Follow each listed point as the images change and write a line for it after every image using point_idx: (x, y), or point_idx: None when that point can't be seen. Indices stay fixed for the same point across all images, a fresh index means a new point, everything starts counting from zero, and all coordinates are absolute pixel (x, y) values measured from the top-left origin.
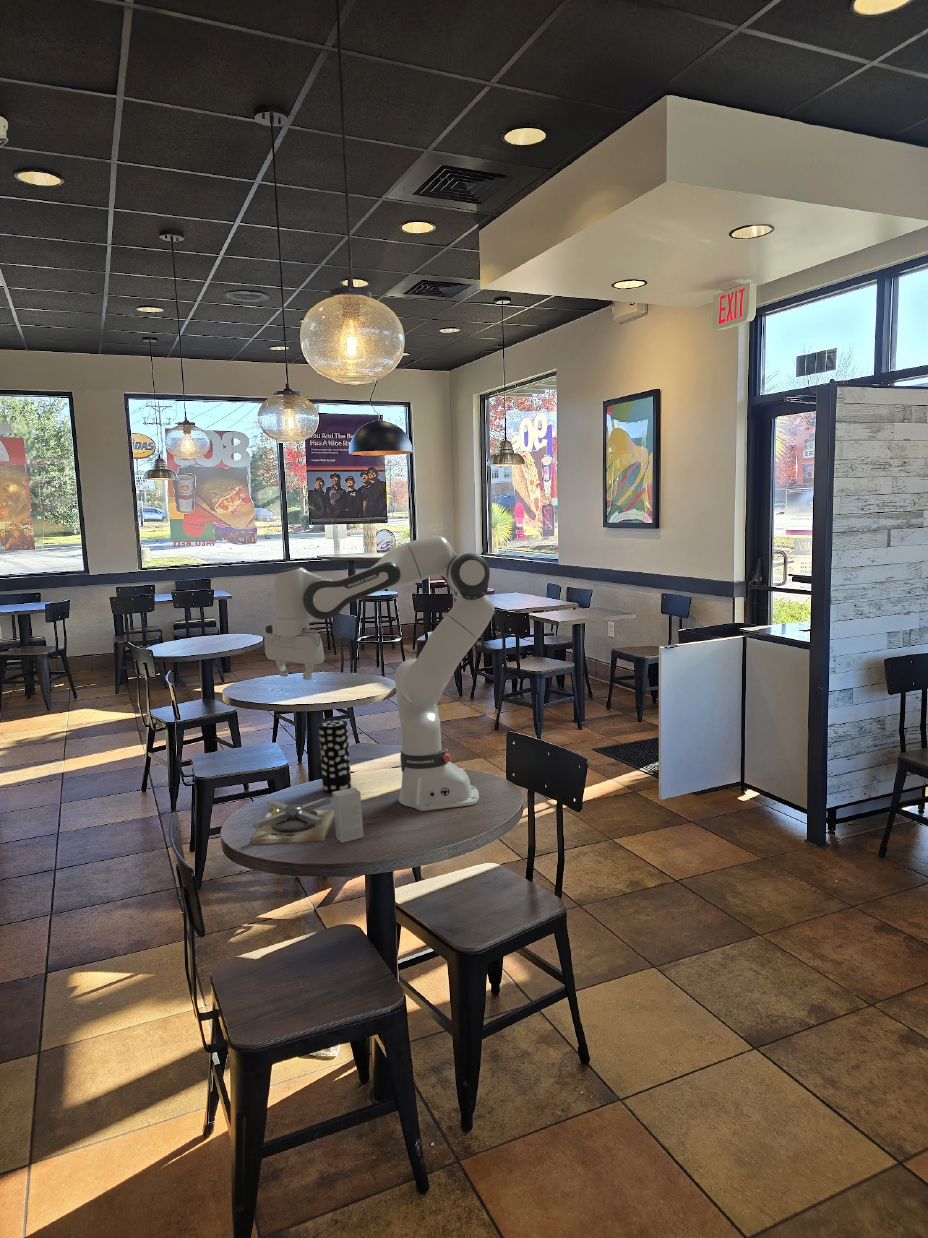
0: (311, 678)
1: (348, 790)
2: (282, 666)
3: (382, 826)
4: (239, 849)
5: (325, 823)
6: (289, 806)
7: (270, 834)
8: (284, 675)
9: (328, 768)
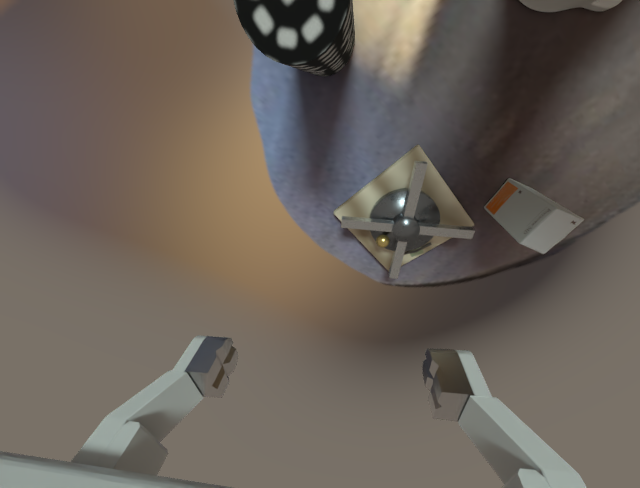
0: (471, 353)
1: (552, 226)
2: (169, 409)
3: (540, 133)
4: (386, 281)
5: (445, 194)
6: (397, 231)
7: None
8: (233, 360)
9: (329, 70)
